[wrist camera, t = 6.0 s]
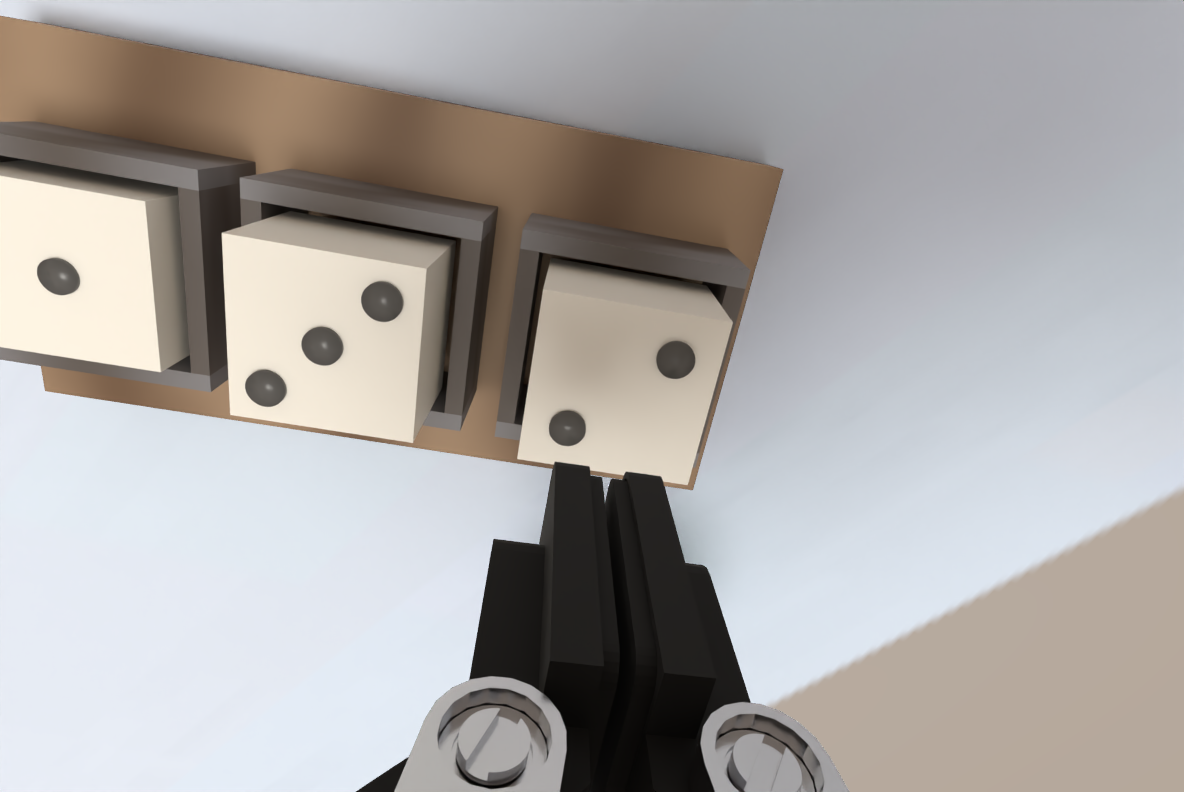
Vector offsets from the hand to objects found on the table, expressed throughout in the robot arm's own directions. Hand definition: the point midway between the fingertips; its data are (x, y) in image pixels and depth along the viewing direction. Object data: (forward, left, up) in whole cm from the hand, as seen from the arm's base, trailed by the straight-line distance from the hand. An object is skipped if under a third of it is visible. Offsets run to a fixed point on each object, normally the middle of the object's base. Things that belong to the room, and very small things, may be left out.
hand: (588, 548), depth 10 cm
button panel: (+6, 0, -13) cm, 15 cm away
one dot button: (+13, 0, -11) cm, 17 cm away
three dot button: (+6, 0, -9) cm, 11 cm away
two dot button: (-1, 0, -9) cm, 9 cm away
